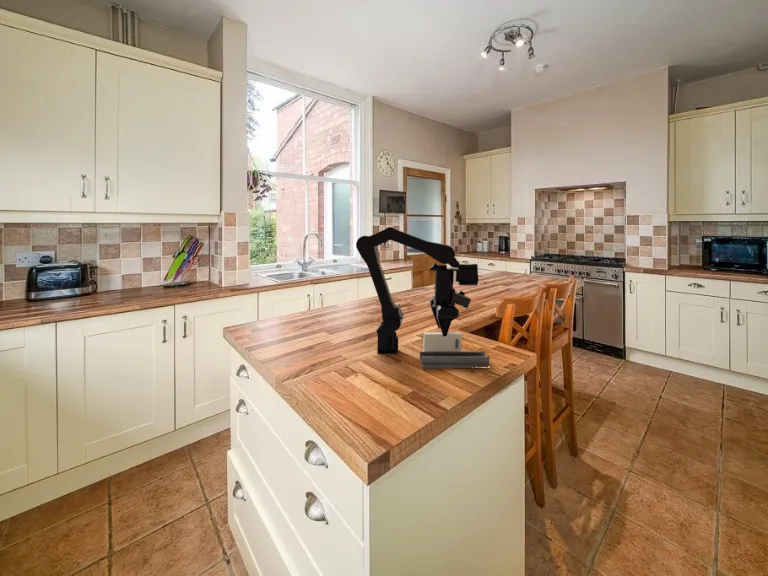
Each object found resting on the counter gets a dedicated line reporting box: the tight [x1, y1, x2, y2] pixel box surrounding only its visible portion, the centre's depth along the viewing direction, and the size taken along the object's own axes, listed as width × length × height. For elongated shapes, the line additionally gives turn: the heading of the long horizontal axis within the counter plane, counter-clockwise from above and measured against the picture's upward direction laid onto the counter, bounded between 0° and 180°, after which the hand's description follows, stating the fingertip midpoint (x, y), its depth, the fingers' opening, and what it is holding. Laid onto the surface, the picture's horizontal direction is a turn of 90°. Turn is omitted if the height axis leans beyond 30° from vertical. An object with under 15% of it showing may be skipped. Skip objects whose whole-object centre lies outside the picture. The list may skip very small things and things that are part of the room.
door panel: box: [422, 331, 463, 351], centre depth 116 cm, size 12×3×7 cm, turn 91°
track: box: [419, 350, 492, 370], centre depth 108 cm, size 20×8×3 cm, turn 91°
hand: (442, 332), depth 116 cm, fingers open, 9 cm apart
